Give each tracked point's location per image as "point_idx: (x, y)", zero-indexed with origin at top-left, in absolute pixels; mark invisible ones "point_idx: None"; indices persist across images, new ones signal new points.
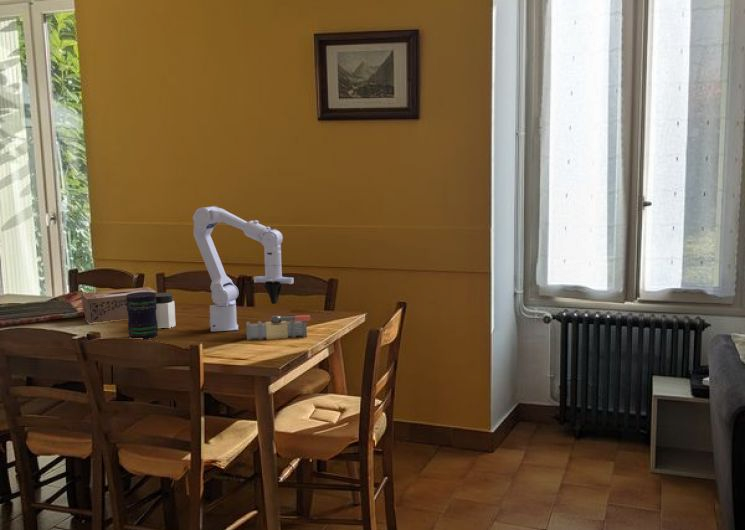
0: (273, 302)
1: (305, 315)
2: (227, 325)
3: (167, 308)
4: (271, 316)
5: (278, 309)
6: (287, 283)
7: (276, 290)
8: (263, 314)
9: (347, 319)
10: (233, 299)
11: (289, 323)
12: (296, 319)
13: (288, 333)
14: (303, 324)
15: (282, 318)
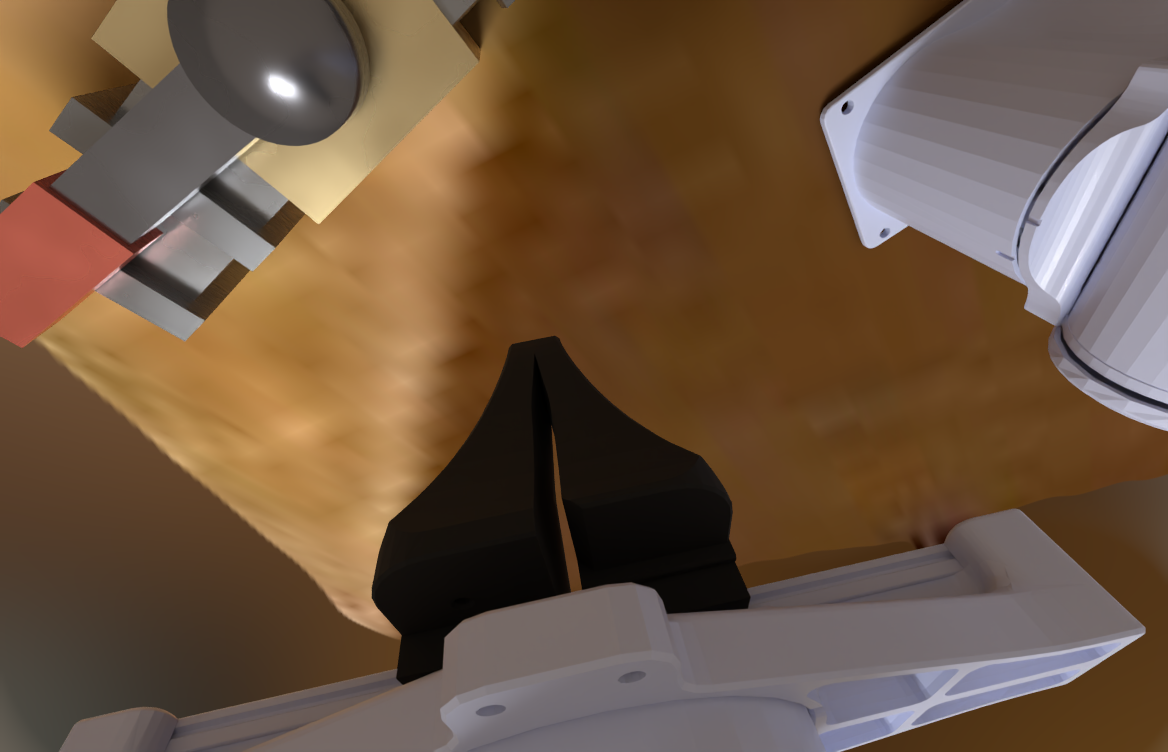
0: (525, 346)
1: (37, 309)
2: (934, 64)
3: None
4: (338, 38)
5: (772, 558)
6: (229, 707)
7: (443, 479)
8: (804, 488)
9: (365, 584)
10: (1083, 290)
11: None
12: (52, 181)
13: None
14: (20, 193)
15: (171, 76)
